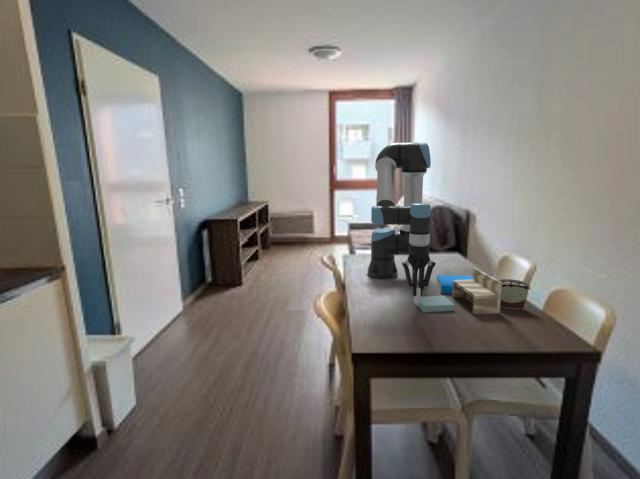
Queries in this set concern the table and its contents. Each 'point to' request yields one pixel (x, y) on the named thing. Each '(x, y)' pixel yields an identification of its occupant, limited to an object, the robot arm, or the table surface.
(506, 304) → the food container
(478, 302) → the shelf
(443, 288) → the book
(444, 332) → the table surface
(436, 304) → the teal square tile
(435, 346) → the table surface
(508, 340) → the table surface
